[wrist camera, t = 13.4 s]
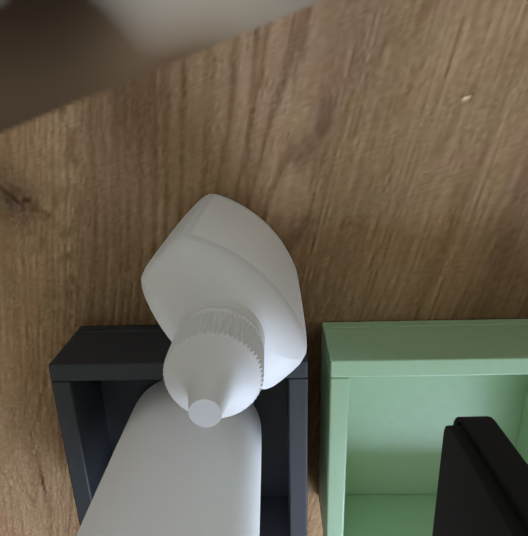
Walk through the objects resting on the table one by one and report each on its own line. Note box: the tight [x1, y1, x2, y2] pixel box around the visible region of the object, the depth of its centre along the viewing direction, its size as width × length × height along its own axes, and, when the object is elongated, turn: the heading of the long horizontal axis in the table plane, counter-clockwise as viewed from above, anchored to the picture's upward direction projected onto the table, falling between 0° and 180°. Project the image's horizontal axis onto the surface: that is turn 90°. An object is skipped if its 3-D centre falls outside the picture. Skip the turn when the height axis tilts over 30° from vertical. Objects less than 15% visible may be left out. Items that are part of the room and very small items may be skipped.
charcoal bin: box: [49, 325, 308, 536], centre depth 23 cm, size 11×11×4 cm
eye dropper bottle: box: [141, 194, 307, 427], centre depth 16 cm, size 4×6×12 cm
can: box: [76, 380, 262, 536], centre depth 18 cm, size 6×6×12 cm
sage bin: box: [319, 319, 528, 536], centre depth 22 cm, size 11×11×4 cm
